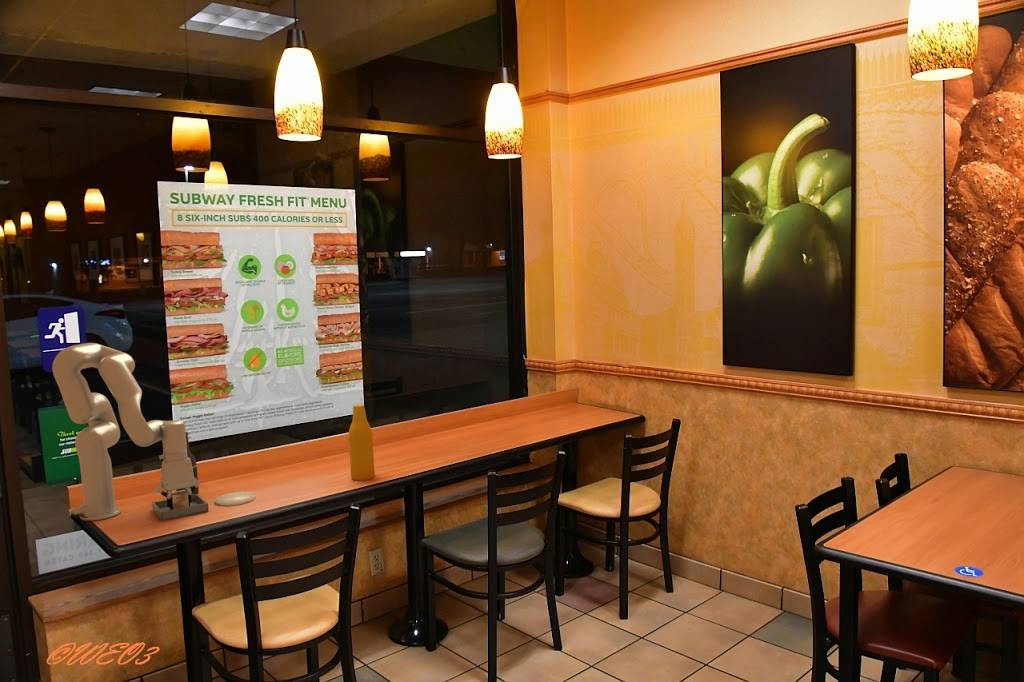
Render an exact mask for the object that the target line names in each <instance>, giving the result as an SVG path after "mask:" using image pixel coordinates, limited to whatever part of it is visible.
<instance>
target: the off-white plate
mask: <svg viewBox="0 0 1024 682" xmlns="http://www.w3.org/2000/svg"><path fill="white" fill-rule="evenodd" d="M256 495H257V494H256V493H255V492H252V491H236V492H235V491H234V492H229V493H225V494H222V495H220V496H217V497H216V498H215V499H214V503H215V505H217V506H221V507H229V506H231V507H232V506H240V505H244V504H248V503H250V502H253V501H255V499H256V498H257V496H256Z"/></svg>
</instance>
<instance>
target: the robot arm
mask: <svg viewBox="0 0 1024 682" xmlns="http://www.w3.org/2000/svg"><path fill="white" fill-rule="evenodd" d="M135 367H136V363H135V361H134V359H133V357H132V356H131V355H129V354H128V353H126V352H123V351H122V350H121V351H120V350H117V349H115V348H111V347H108V346H105V345H103V344H99V343H95V342H86V343H79V344H73V345H71V346H68V347H65V348H64V349H62V350H61V351H59V352H58V353H57V355H56V356H55V357H54V360H53V362H52V373H53V377H54V379H55V382H56V384H57V386H58V388H59V392H60V394H61V397H62V400H63V402H64V405H65V408H66V411H67V413H68V417H69V418H70V420H71V421H72V422H73V423H75V424H78V425H83V424H88V426H87V427H85V428H83V429H82V430H80V431H79V432H78V434H77V436H76V437H75V442H74V443H75V450H76V453H77V456H78V462H79V468H80V475H81V485H82V487H81V488H82V497H83V498H82V499H83V503H81V505H80V506H79V507H74V508H70V509H68V512H69V514H68V515H69V516H71V515H74V516H76V515H80V514H81V513H82V514H84V516H85V517H86V516H87V517H88V518H82V517H80V516H79V518H80V520H82V521H89V522H91V521H99V520H104V519H105V520H106V519H109V518H112V517H116V516H118V515H119V514H120V513H121V511H122V510H121V507H118V506H116V499H115V498H116V497H115V488H114V478H113V477H114V476H113V466H112V459H111V457H110V455H109V452H108V448H111V447H113V446H115V445H116V444H117V443H118V441H119V440H120V438H121V429H120V426H119V423H118V421H117V418H116V415H115V413H114V410H113V407H112V404H111V403H110V401H109V399H108V398H107V397H106V396H105V395H104V394H101V393H100V392H99V393H98V392H91V389H90V387H89V384H88V381H87V380H86V378H85V377H84V375H83V374H82V373H81V371H82V370H84V369H87V368H88V369H89V368H95V369H97V371H98V373H99V375H100V376H101V378H102V380H103V381H104V383H105V384H106V386H107V388H108V390H109V391H110V393H111V394H112V396H113V397H114V399H115V400H116V403H117V405H118V407H117V408H118V413H119V418H120V422H121V424H122V426H123V429H124V430H125V432H126V433H127V435H128V436H129V438H130V440H131V441H132V442H133V443H134V444H135V445H136V446H139V447H142V448H143V447H144V448H145V447H149V446H151V445H153V444H156V443H157V442H160V441H162V448H163V449H162V450H163V452H162V454H161V455H158V457H159V460H163V461H162V462H161V470H160V471H161V474H160V476H161V479H160V482H159V484H157V487H156V488H155V490H154V491H155V493H158V494H159V495H162V496H163V497H165V498H166V500H167V507H169V508H170V509H171V510H173V503H172V498H171V493H172V492H173V491H176V490H178V489H183V488H185V489H186V492H187V493H188V501H189V506H190V503H191V494H192V492H193V491H194V490H195V489H196V487H197V486H198V487H199V485H201V481H199V479H198V480H197V479H196V478H195V477H194V474H193V468H192V463H191V460H190V458H188V456H187V443H186V432H187V431H186V424H185V422H184V421H183V420H179V419H176V420H175V419H174V420H161V419H160V420H159V419H154V420H149V421H148V422H147V420H146V419H145V417H144V416H143V414H142V409H141V400H142V394H143V390H142V388H141V387H140V385H139V384H138V381H137V380H136V379H135V377H134V375H133V374H132V373H133V372H134V370H135ZM194 482H195V483H194ZM162 489H163V490H162Z"/></svg>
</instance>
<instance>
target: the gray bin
mask: <svg viewBox="0 0 1024 682" xmlns="http://www.w3.org/2000/svg"><path fill="white" fill-rule="evenodd" d="M151 506H152V508H151V509H152V511H153V513H154V514H155V515H156V516H157V517H158V519H159V520H160V521H161V522H163V521H164V522H165V521H170V520H174V519H179V518H180V519H181V518H184V517H189V516H193V515H199V514H204V513H208V512H209V502H207V501H206V500H205V499H204V498H202V497H201V496H200V495H199V493H198V494H193V495H191V503H190V506H189V507H184V508H179V509H174V510H171V509H170V508H169V507H167V499H164V500H159V501H153V502H151Z"/></svg>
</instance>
